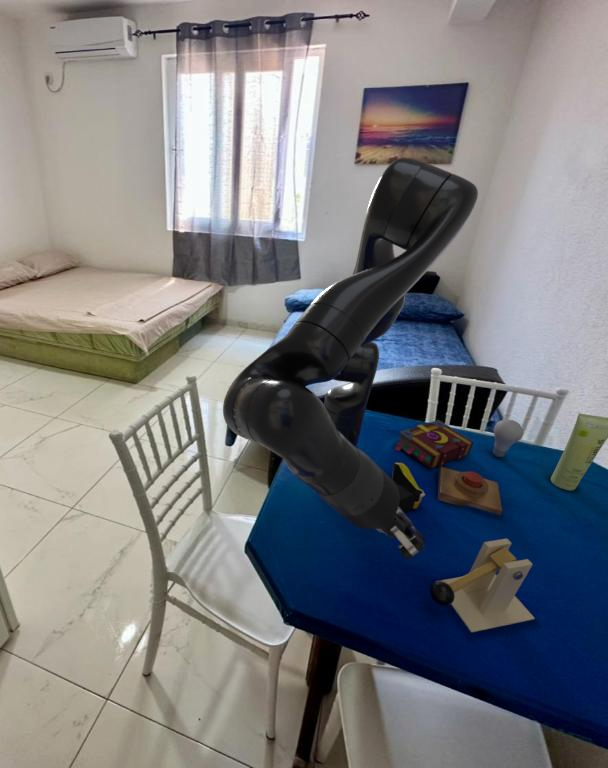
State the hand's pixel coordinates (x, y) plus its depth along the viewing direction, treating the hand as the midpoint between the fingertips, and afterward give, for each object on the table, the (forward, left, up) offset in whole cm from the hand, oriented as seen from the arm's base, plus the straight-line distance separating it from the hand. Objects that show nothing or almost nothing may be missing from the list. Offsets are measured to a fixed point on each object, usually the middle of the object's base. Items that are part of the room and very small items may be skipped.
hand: (416, 540), depth 57 cm
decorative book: (+5, +54, -19) cm, 58 cm away
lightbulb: (+21, +60, -19) cm, 67 cm away
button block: (+13, +40, -19) cm, 46 cm away
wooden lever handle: (+11, +9, -13) cm, 19 cm away
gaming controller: (-3, +30, -19) cm, 36 cm away
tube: (+34, +55, -19) cm, 68 cm away
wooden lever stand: (+14, +11, -19) cm, 26 cm away
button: (+13, +40, -16) cm, 45 cm away
